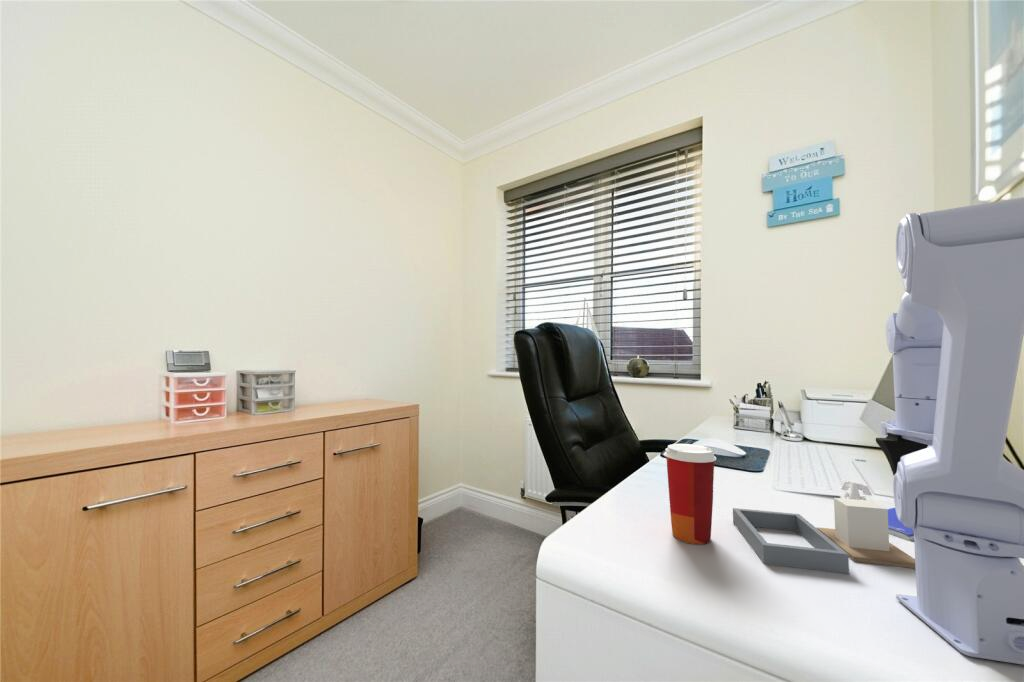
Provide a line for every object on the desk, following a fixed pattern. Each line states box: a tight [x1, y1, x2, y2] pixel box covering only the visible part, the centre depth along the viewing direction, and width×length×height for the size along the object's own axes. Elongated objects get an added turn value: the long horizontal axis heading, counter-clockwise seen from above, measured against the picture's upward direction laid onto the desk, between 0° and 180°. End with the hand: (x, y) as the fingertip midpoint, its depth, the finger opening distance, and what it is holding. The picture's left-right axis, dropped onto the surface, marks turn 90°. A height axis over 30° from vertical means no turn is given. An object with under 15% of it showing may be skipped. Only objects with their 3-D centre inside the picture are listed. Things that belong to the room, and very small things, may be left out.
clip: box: [839, 481, 873, 500], centre depth 78 cm, size 5×2×4 cm, turn 34°
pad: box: [816, 526, 916, 569], centre depth 58 cm, size 10×8×1 cm
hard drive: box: [887, 507, 914, 541], centre depth 67 cm, size 2×8×12 cm
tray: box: [732, 507, 850, 574], centre depth 59 cm, size 14×10×2 cm
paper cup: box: [663, 443, 717, 545], centre depth 62 cm, size 8×8×14 cm
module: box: [833, 497, 890, 551], centre depth 59 cm, size 4×5×6 cm
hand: (927, 497), depth 53 cm, fingers open, 7 cm apart
